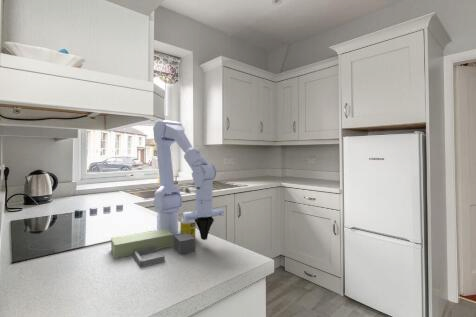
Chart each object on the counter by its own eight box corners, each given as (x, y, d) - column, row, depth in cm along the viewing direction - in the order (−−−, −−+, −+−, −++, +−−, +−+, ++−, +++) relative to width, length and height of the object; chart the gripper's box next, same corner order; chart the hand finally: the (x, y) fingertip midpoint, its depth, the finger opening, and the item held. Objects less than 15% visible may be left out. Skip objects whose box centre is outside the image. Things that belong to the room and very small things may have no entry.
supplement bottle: (192, 242, 90) (192, 215, 90) (178, 241, 91) (177, 214, 91) (197, 237, 95) (197, 211, 95) (184, 236, 96) (184, 210, 96)
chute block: (174, 249, 84) (173, 235, 84) (188, 246, 87) (188, 233, 87) (180, 255, 79) (180, 241, 79) (195, 252, 82) (195, 238, 82)
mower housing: (111, 249, 82) (111, 237, 82) (165, 239, 92) (165, 228, 92) (120, 271, 68) (120, 257, 68) (184, 256, 78) (184, 243, 78)
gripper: (188, 203, 79) (188, 246, 79) (228, 199, 87) (228, 238, 87) (180, 200, 85) (180, 240, 85) (218, 196, 93) (218, 232, 93)
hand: (203, 238), depth 87 cm, fingers closed
